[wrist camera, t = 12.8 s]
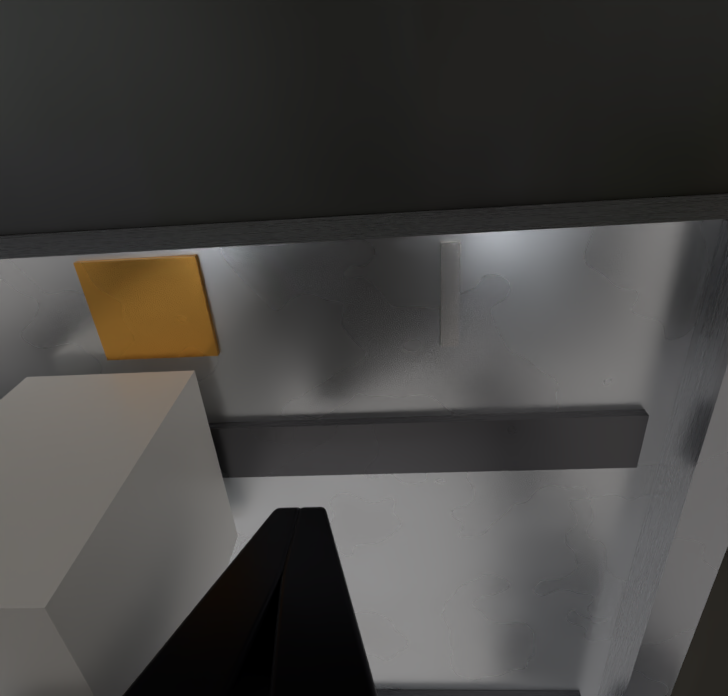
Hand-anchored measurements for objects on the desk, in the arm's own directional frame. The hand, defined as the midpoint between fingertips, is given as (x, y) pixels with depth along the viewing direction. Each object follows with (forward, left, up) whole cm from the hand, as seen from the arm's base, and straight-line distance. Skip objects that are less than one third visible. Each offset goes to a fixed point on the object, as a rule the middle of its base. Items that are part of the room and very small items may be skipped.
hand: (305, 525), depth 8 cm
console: (+3, +5, -4) cm, 6 cm away
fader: (+3, 0, -2) cm, 4 cm away
